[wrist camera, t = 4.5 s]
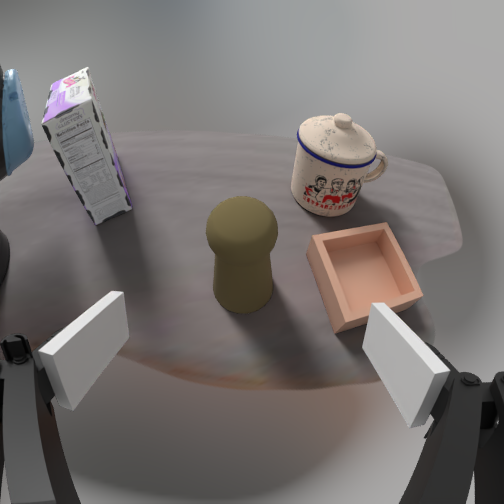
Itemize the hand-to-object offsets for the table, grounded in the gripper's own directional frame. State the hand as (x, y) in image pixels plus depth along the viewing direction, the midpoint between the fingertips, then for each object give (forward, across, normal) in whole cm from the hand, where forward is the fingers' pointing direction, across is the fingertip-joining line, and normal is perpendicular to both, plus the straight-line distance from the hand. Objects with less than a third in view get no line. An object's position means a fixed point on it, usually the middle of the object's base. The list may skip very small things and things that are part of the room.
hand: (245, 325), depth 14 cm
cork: (+14, -1, -3) cm, 15 cm away
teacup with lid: (+24, +10, +7) cm, 27 cm away
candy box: (+24, -21, +7) cm, 33 cm away
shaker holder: (+15, +12, -2) cm, 19 cm away
